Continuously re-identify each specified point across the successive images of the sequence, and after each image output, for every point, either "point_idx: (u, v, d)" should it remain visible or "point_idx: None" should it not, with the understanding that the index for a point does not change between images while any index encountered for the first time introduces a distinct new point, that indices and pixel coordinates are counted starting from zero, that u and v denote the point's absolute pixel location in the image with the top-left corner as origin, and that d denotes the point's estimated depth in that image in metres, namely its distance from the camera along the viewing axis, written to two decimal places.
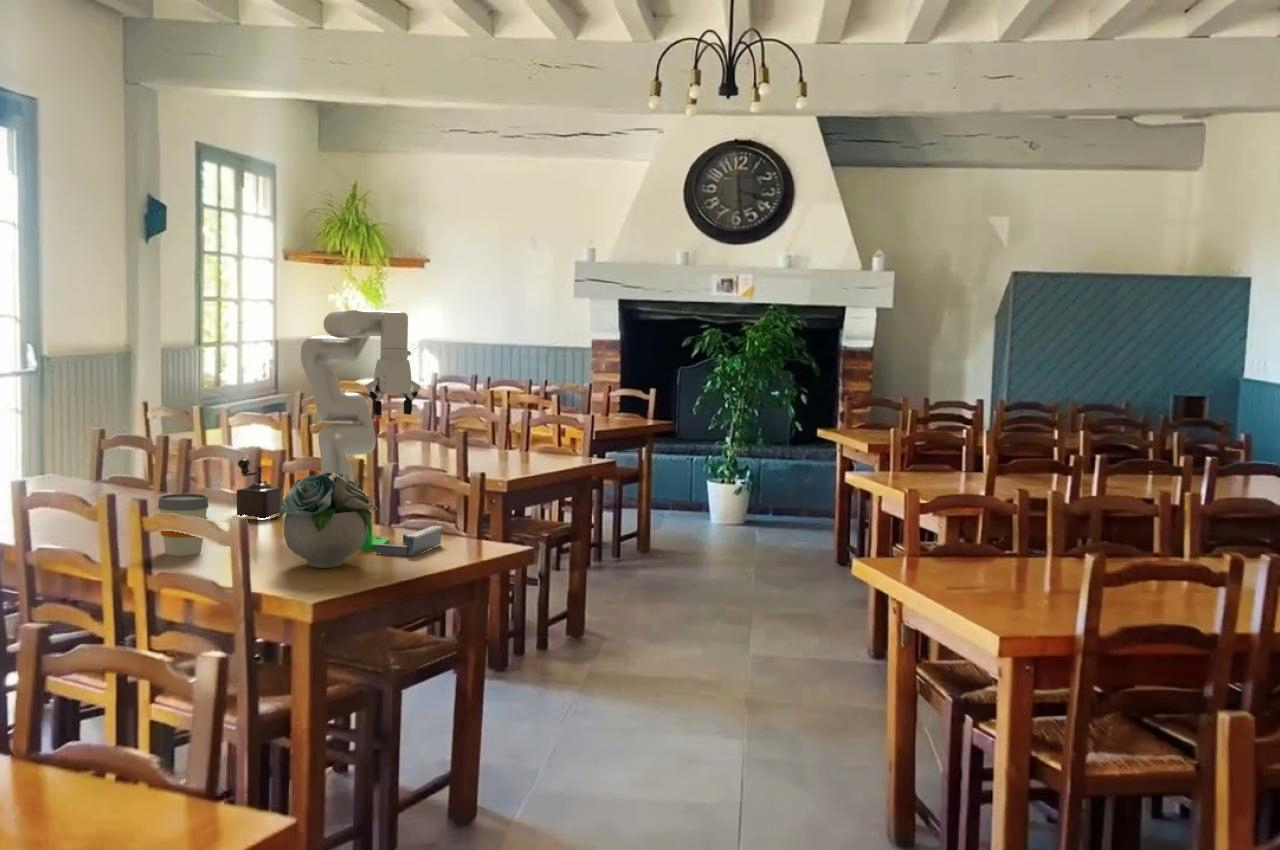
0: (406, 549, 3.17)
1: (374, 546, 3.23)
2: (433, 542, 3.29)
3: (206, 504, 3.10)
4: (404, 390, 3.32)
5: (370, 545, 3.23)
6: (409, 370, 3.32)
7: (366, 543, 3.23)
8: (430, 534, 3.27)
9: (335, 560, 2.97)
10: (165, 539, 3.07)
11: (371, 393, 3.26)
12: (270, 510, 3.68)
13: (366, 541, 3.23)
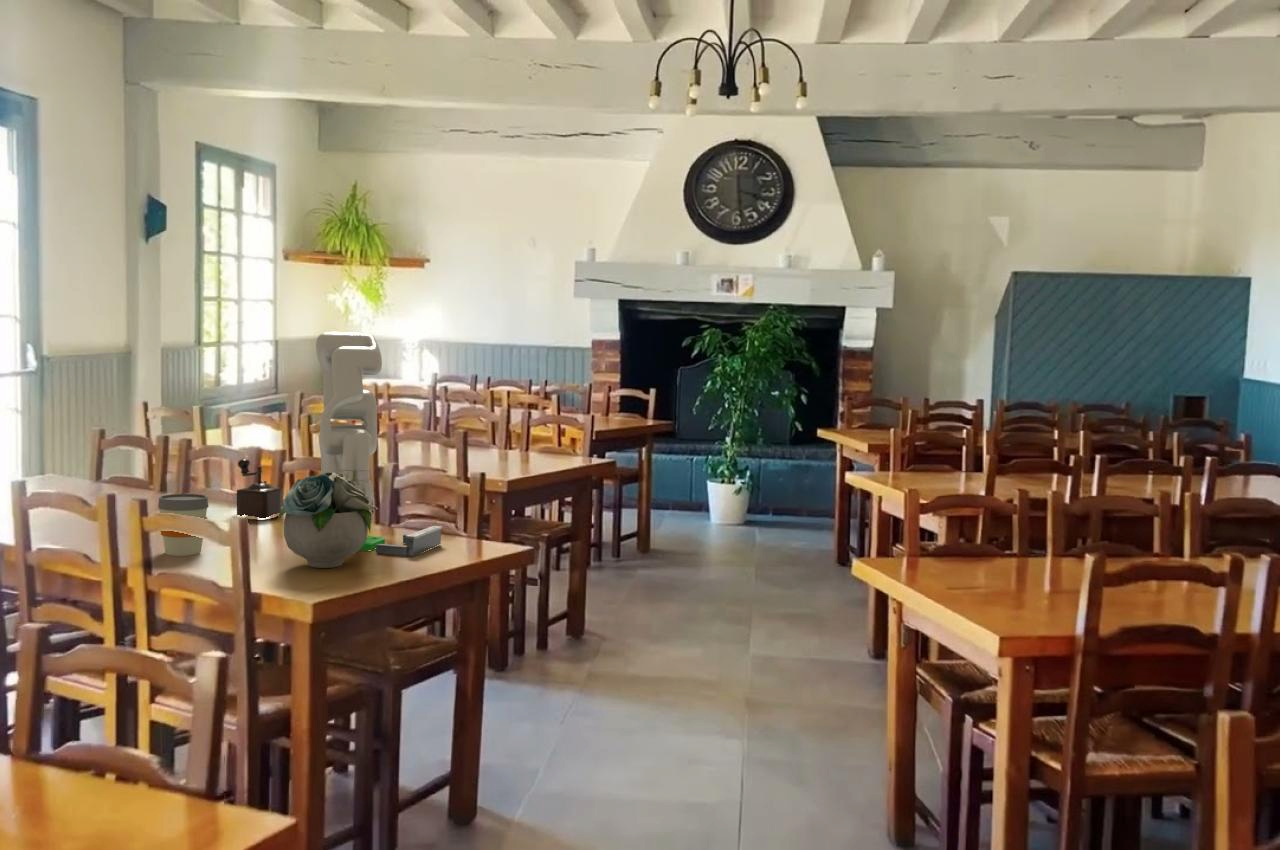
0: (406, 549, 3.17)
1: (362, 546, 3.23)
2: (433, 542, 3.29)
3: (206, 504, 3.10)
4: None
5: None
6: None
7: None
8: (430, 534, 3.27)
9: (335, 560, 2.97)
10: (165, 539, 3.07)
11: None
12: (270, 510, 3.68)
13: None
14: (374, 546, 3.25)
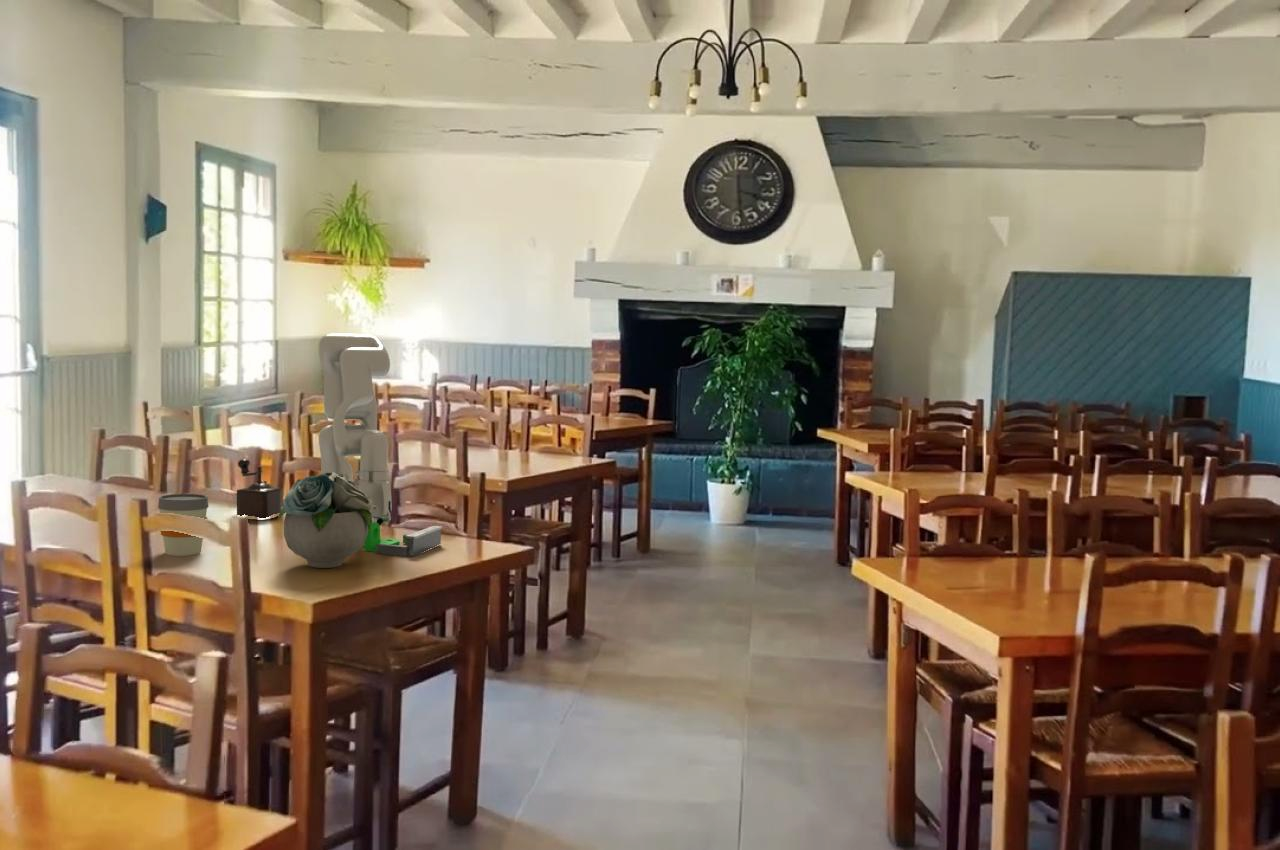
0: (406, 549, 3.17)
1: None
2: (433, 542, 3.29)
3: (206, 504, 3.10)
4: None
5: (372, 546, 3.21)
6: None
7: (369, 544, 3.22)
8: (430, 534, 3.27)
9: (335, 560, 2.97)
10: (165, 539, 3.07)
11: None
12: (270, 510, 3.68)
13: (369, 542, 3.22)
14: None
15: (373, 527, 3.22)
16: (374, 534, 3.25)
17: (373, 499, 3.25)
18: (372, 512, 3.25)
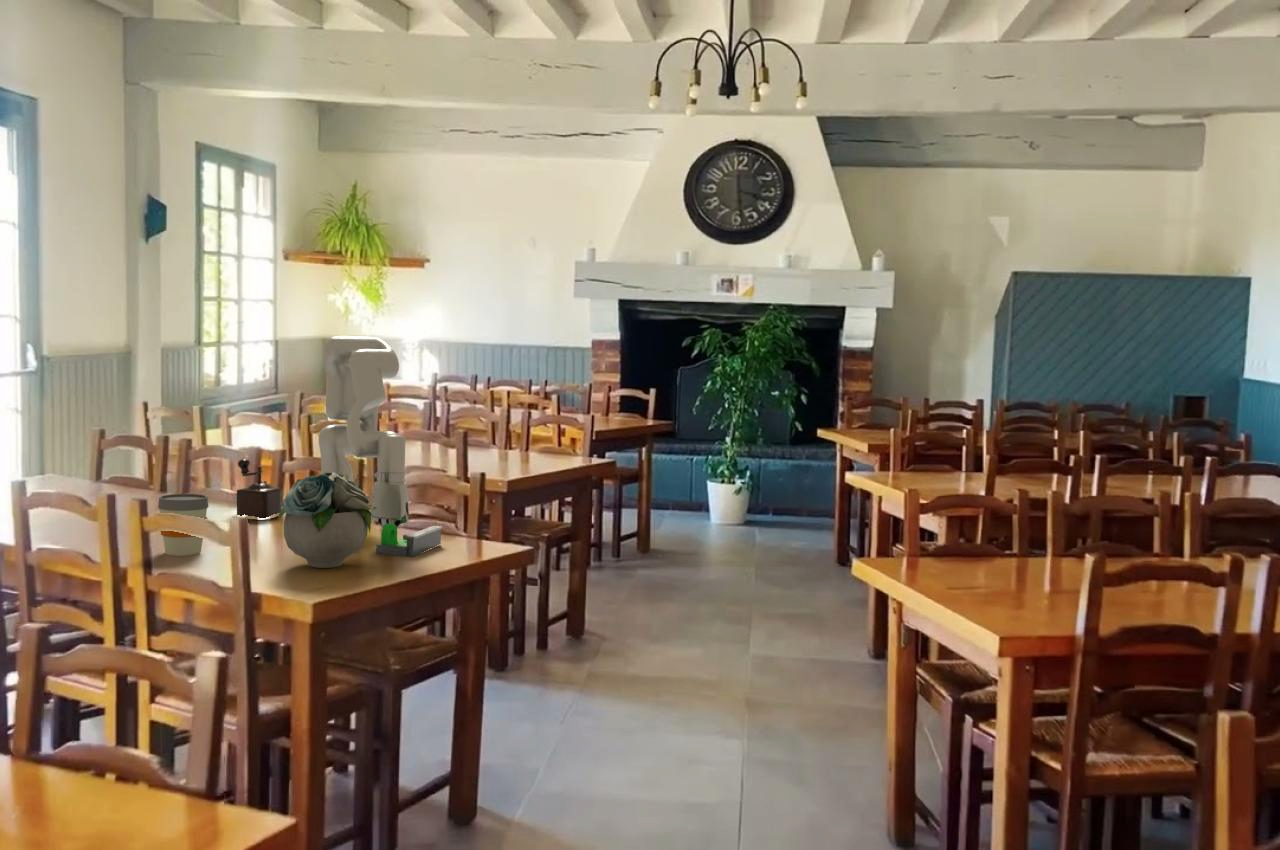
0: (406, 549, 3.17)
1: None
2: (433, 542, 3.29)
3: (206, 504, 3.10)
4: None
5: None
6: None
7: None
8: (430, 534, 3.27)
9: (335, 560, 2.97)
10: (165, 539, 3.07)
11: None
12: (270, 510, 3.68)
13: None
14: None
15: (390, 528, 3.21)
16: (391, 535, 3.24)
17: (390, 501, 3.24)
18: (390, 514, 3.24)
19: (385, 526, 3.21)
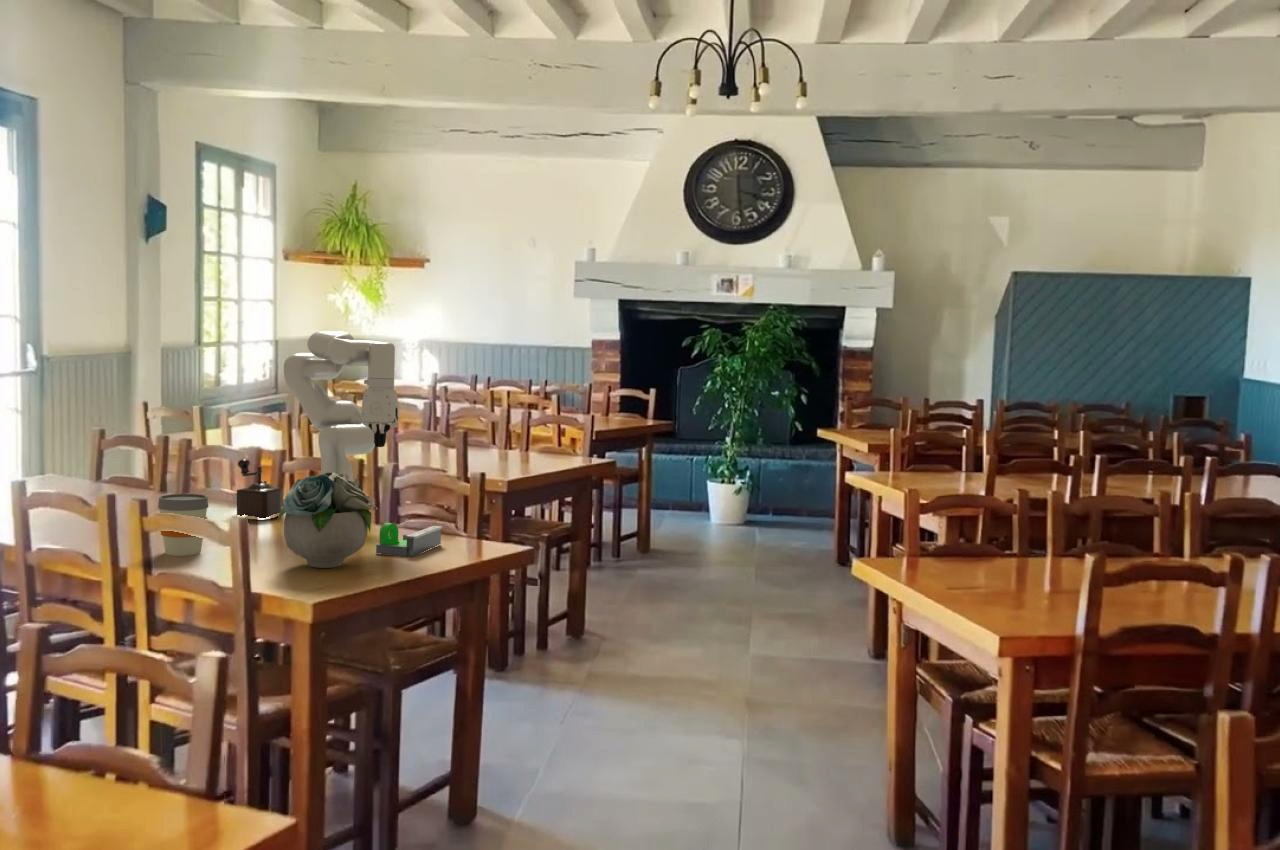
0: (406, 549, 3.17)
1: None
2: (433, 542, 3.29)
3: (206, 504, 3.10)
4: None
5: None
6: None
7: None
8: (430, 534, 3.27)
9: (335, 560, 2.97)
10: (165, 539, 3.07)
11: None
12: (270, 510, 3.68)
13: (383, 543, 3.21)
14: None
15: (388, 528, 3.22)
16: (392, 535, 3.25)
17: (380, 405, 3.37)
18: (380, 418, 3.37)
19: (384, 525, 3.22)
